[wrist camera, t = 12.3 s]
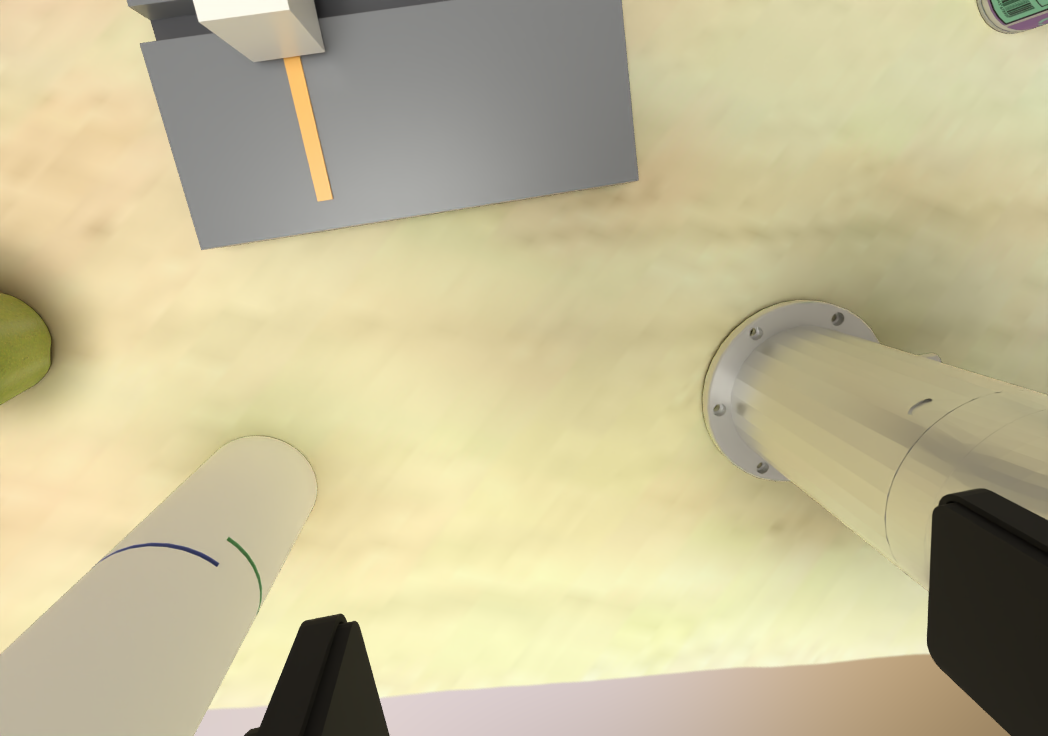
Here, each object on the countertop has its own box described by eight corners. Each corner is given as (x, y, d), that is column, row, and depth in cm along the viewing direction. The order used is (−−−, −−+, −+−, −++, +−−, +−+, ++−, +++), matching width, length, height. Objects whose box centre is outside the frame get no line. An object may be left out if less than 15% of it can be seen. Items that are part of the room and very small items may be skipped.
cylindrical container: (234, 415, 36) (-226, 811, 12) (337, 469, 38) (111, 915, 14) (183, 504, 37) (-332, 1030, 13) (284, 553, 39) (-10, 1101, 15)
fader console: (579, -258, 29) (592, -314, 26) (624, 183, 35) (639, 180, 32) (94, -203, 28) (48, -255, 25) (224, 247, 34) (199, 250, 30)
